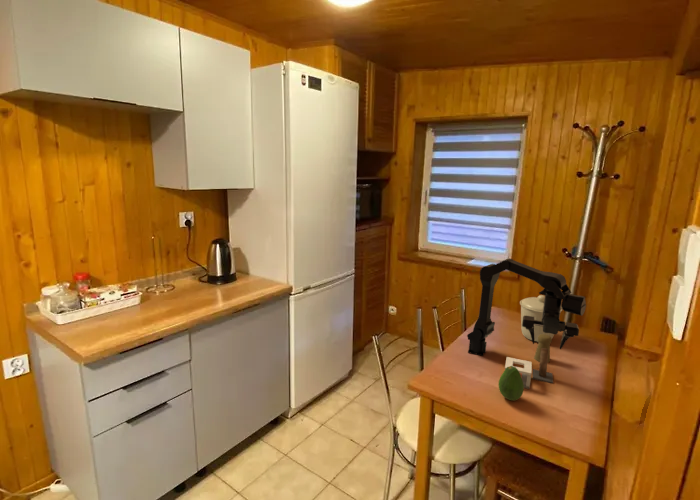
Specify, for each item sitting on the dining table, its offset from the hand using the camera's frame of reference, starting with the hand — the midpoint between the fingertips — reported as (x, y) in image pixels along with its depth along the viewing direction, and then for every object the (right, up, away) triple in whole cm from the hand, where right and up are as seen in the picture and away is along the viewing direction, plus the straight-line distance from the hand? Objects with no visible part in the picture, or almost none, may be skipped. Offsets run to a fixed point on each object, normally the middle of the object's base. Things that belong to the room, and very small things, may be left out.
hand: (546, 346), depth 148 cm
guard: (-11, -13, +1) cm, 17 cm away
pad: (0, -13, +3) cm, 13 cm away
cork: (+6, -10, +16) cm, 20 cm away
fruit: (-19, -16, -11) cm, 27 cm away
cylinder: (0, -12, +3) cm, 12 cm away
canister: (+14, -5, +37) cm, 39 cm away
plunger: (-11, -12, 0) cm, 16 cm away
